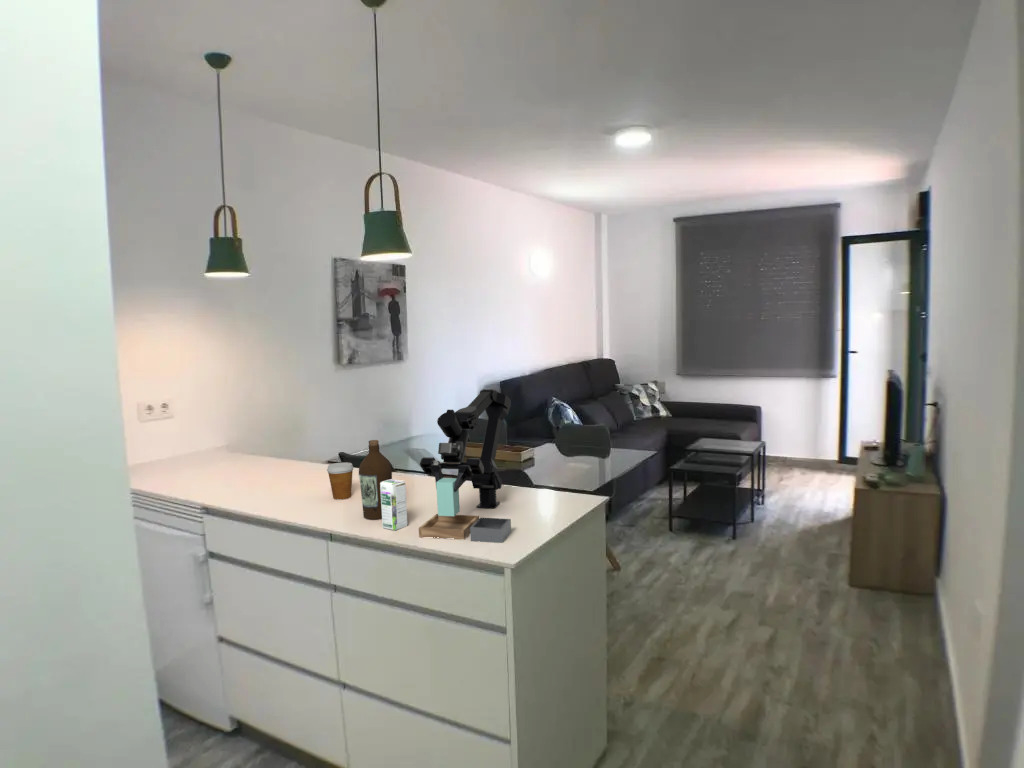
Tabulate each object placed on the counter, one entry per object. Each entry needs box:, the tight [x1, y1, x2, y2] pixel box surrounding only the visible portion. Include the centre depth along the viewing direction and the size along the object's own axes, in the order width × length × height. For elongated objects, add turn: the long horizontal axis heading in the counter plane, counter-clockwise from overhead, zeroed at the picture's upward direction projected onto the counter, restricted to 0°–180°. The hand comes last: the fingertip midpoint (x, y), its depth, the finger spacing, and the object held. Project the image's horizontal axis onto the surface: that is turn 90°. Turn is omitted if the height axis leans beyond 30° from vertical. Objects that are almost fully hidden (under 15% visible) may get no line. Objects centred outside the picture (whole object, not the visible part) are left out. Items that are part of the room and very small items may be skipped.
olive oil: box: [358, 439, 393, 521], centre depth 219 cm, size 11×11×25 cm
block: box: [435, 477, 461, 516], centre depth 198 cm, size 5×5×10 cm
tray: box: [418, 513, 480, 540], centre depth 202 cm, size 14×14×3 cm
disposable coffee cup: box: [326, 462, 355, 500], centre depth 245 cm, size 10×10×12 cm
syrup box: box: [380, 478, 408, 531], centre depth 207 cm, size 6×6×14 cm
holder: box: [469, 517, 512, 544], centre depth 195 cm, size 9×9×4 cm
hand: (446, 491), depth 196 cm, fingers closed on block, 5 cm apart
